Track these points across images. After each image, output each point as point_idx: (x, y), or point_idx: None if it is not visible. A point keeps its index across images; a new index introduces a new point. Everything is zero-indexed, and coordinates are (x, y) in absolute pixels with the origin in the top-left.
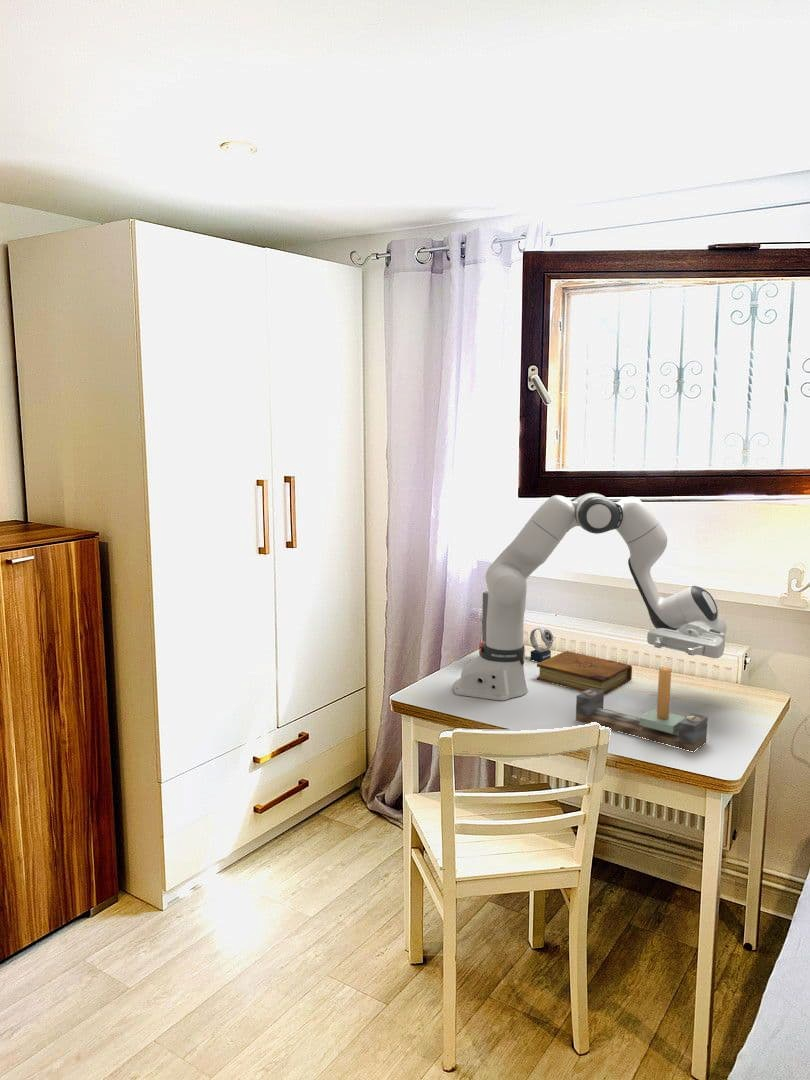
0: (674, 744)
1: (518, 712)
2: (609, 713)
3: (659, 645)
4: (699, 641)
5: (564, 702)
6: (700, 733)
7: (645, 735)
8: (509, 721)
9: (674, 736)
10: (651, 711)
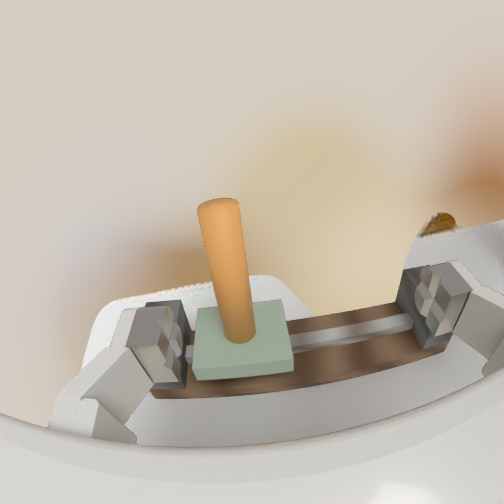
0: None
1: (469, 268)
2: (375, 320)
3: (423, 289)
4: (74, 471)
5: None
6: None
7: None
8: (441, 247)
9: None
10: (284, 342)
